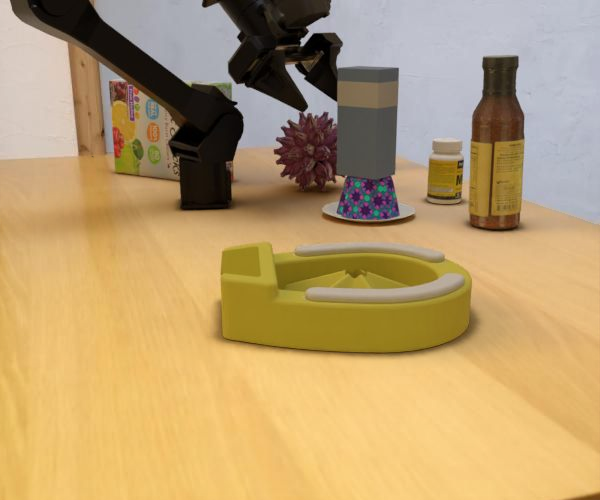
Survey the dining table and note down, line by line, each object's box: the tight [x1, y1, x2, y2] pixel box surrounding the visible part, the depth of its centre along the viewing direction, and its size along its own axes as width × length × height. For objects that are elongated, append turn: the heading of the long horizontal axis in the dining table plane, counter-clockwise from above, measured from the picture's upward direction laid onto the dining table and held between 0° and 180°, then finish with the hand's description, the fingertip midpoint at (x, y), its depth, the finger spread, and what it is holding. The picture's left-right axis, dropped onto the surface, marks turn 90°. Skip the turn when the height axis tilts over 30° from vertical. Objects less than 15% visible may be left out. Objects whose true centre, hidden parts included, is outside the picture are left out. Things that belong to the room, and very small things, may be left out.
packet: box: [336, 65, 400, 180], centre depth 98 cm, size 6×4×13 cm
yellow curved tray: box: [220, 241, 473, 354], centre depth 67 cm, size 16×21×5 cm
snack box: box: [108, 78, 235, 182], centre depth 125 cm, size 21×6×15 cm, turn 58°
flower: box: [273, 110, 346, 192], centre depth 116 cm, size 12×12×12 cm
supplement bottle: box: [426, 137, 465, 205], centre depth 109 cm, size 5×5×8 cm
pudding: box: [321, 176, 416, 223], centre depth 101 cm, size 12×12×5 cm
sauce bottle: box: [468, 54, 526, 230], centre depth 94 cm, size 7×6×20 cm
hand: (326, 106), depth 101 cm, fingers open, 9 cm apart
